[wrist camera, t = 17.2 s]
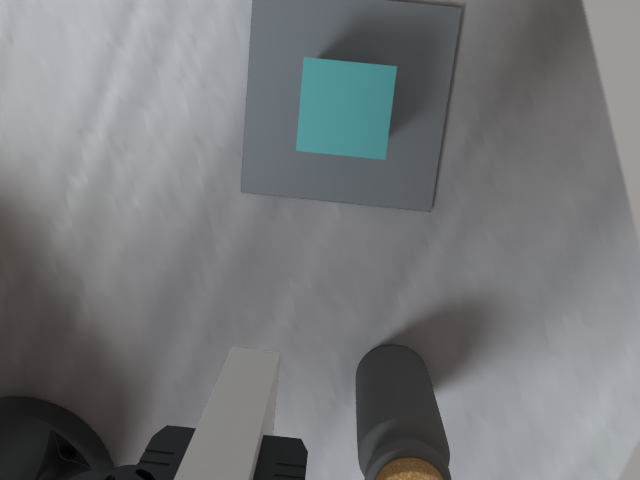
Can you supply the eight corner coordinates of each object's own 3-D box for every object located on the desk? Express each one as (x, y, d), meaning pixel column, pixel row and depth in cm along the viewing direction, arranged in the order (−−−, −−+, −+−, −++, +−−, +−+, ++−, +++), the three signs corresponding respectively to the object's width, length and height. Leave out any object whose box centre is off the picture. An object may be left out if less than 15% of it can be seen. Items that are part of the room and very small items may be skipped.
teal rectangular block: (305, 138, 41) (296, 150, 34) (312, 62, 40) (303, 57, 32) (378, 145, 41) (385, 159, 33) (387, 69, 40) (397, 66, 32)
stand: (242, 190, 43) (223, 209, 36) (255, -12, 40) (236, -31, 33) (429, 209, 43) (444, 233, 36) (459, 9, 39) (483, -7, 33)
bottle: (389, 329, 46) (408, 443, 31) (443, 374, 46) (486, 505, 32) (340, 379, 47) (337, 511, 33) (393, 422, 48) (414, 569, 33)
